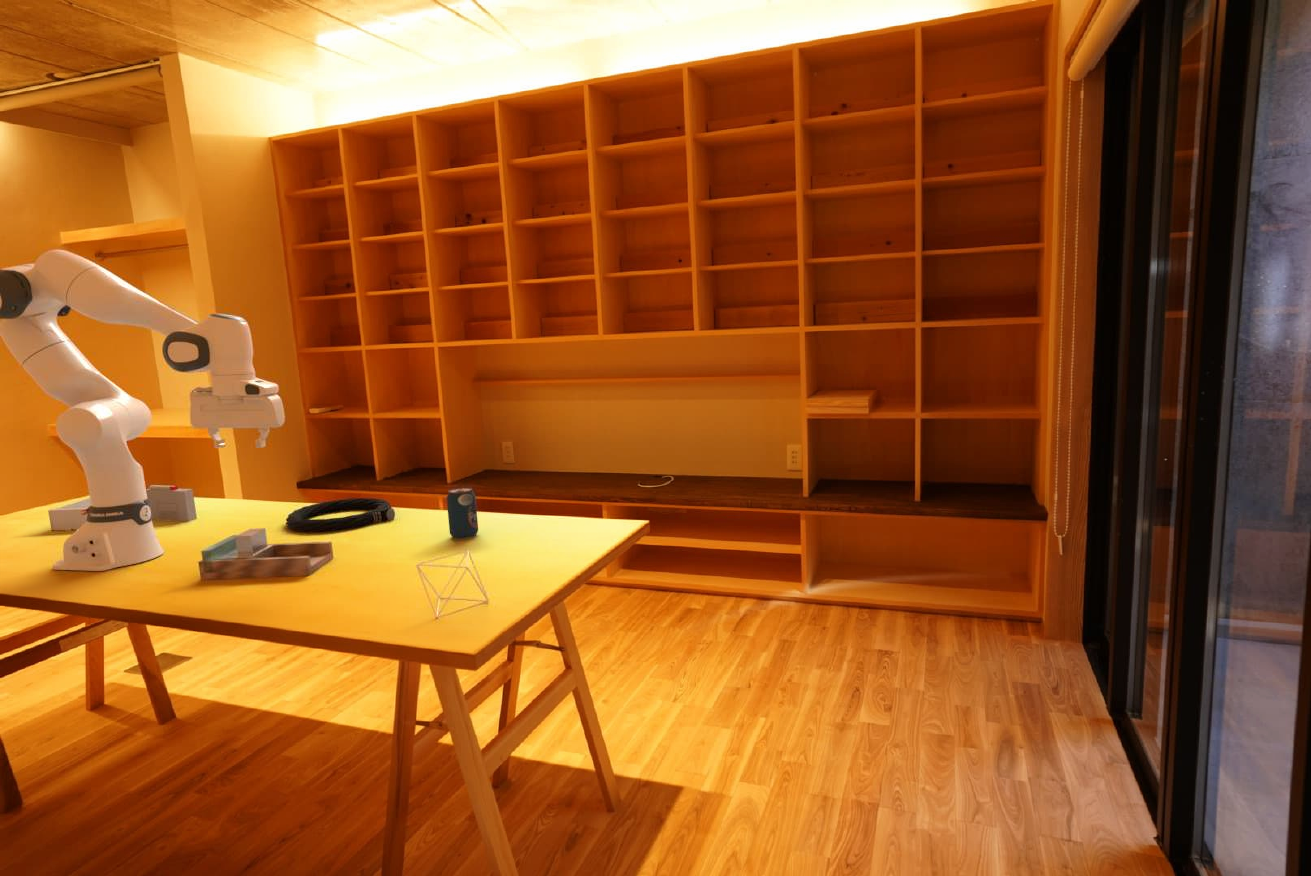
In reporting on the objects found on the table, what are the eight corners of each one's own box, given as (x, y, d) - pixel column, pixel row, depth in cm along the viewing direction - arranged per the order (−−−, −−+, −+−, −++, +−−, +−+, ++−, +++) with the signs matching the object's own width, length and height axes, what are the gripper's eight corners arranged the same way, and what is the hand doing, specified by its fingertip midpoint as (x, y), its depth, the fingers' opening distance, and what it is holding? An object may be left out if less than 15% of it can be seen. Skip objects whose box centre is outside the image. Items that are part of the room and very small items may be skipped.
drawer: (200, 579, 166) (196, 550, 165) (232, 562, 178) (228, 535, 177) (309, 575, 166) (305, 546, 165) (333, 558, 177) (330, 531, 176)
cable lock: (325, 496, 229) (416, 495, 223) (327, 508, 230) (418, 508, 224) (261, 520, 203) (362, 521, 196) (263, 534, 203) (364, 535, 197)
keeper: (217, 569, 167) (213, 539, 166) (240, 556, 176) (236, 527, 175) (253, 568, 167) (249, 537, 166) (274, 555, 176) (270, 526, 175)
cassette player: (197, 519, 223) (192, 485, 221) (188, 521, 220) (183, 487, 219) (157, 517, 228) (152, 484, 226) (149, 519, 225) (143, 486, 224)
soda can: (478, 538, 188) (474, 491, 186) (449, 541, 186) (445, 493, 184) (478, 531, 195) (474, 485, 193) (450, 534, 193) (446, 488, 191)
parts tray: (51, 531, 216) (48, 510, 215) (110, 510, 239) (107, 491, 238) (96, 529, 216) (92, 508, 215) (151, 508, 239) (148, 490, 238)
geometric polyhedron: (413, 606, 145) (408, 560, 143) (464, 590, 152) (460, 546, 150) (444, 623, 136) (439, 575, 134) (497, 605, 143) (493, 559, 141)
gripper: (180, 388, 169) (186, 450, 171) (270, 387, 168) (276, 449, 170) (197, 386, 175) (204, 445, 177) (285, 385, 174) (290, 444, 176)
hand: (240, 447), depth 174 cm, fingers open, 8 cm apart
